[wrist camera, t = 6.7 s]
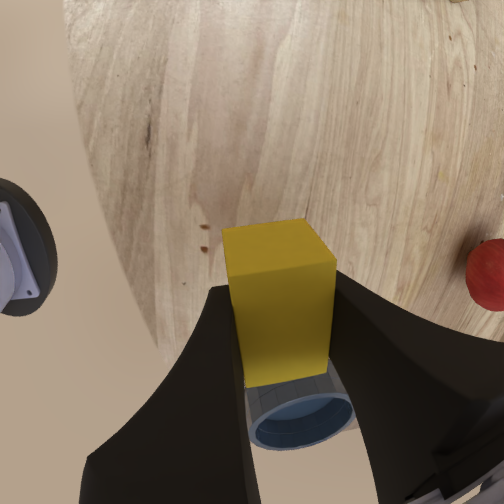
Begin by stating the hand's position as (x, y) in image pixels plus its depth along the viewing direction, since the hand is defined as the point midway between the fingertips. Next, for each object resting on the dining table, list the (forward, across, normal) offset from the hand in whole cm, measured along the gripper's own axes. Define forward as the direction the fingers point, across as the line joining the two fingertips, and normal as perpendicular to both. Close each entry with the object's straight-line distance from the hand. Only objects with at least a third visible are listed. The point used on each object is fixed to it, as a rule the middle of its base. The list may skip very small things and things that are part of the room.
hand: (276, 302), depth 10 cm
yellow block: (+1, 0, 0) cm, 1 cm away
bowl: (+8, -3, +17) cm, 20 cm away
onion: (+9, -19, +6) cm, 22 cm away
